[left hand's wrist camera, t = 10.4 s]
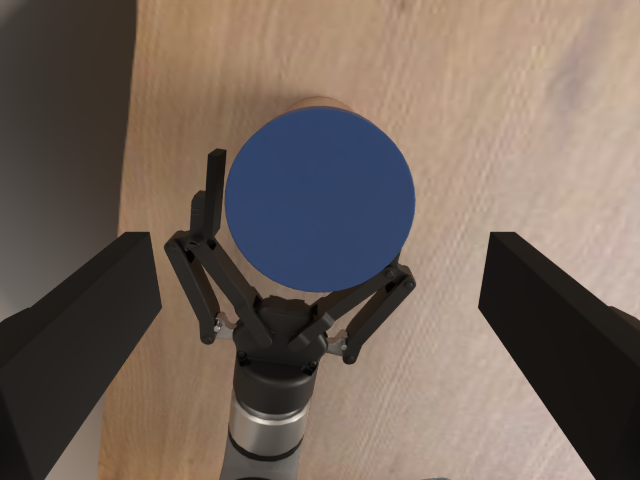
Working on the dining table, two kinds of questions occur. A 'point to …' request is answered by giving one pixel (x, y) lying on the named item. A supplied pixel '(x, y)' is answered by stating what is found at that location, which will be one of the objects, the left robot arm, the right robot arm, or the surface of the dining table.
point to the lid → (320, 199)
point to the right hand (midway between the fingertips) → (308, 166)
